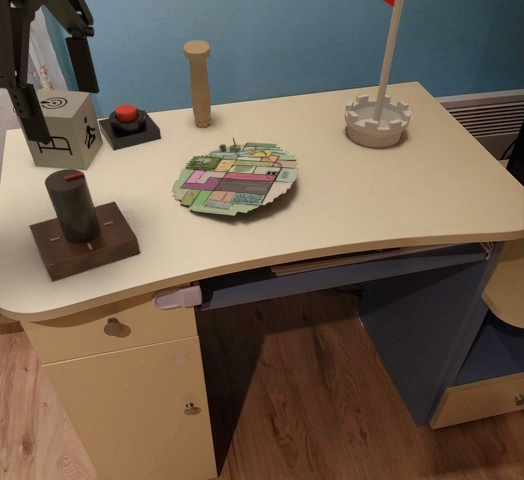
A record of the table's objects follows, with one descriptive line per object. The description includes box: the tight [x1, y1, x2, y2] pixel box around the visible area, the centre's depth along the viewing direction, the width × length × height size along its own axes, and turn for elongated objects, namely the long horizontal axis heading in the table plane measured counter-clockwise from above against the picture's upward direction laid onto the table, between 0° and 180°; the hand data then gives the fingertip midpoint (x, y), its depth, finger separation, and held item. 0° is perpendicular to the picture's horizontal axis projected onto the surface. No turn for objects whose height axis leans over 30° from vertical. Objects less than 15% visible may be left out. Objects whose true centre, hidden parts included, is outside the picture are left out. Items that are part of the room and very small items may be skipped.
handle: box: [183, 39, 212, 129], centre depth 99 cm, size 5×6×15 cm
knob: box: [44, 169, 101, 243], centre depth 74 cm, size 6×6×9 cm
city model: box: [171, 137, 300, 216], centre depth 90 cm, size 25×23×6 cm
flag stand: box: [344, 0, 412, 148], centre depth 92 cm, size 13×13×30 cm
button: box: [114, 103, 137, 121], centre depth 99 cm, size 4×4×2 cm
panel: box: [28, 201, 141, 282], centre depth 78 cm, size 14×11×3 cm
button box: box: [97, 107, 162, 151], centre depth 101 cm, size 9×10×4 cm
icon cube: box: [15, 88, 104, 171], centre depth 93 cm, size 10×10×10 cm
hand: (66, 114), depth 64 cm, fingers open, 13 cm apart
